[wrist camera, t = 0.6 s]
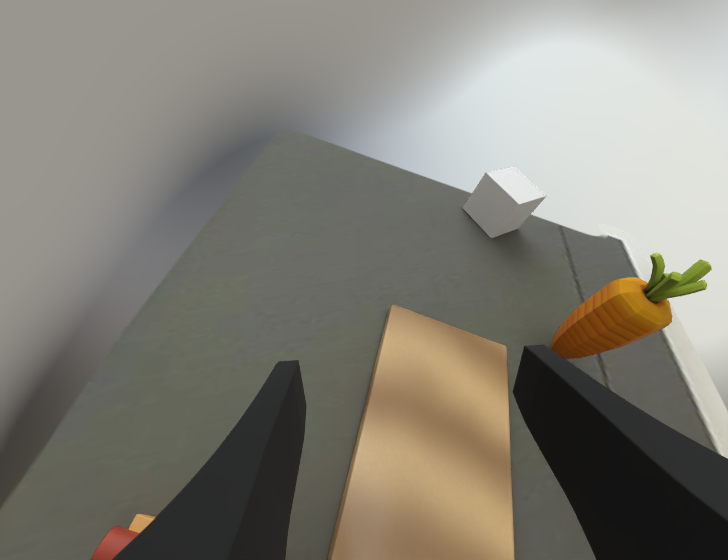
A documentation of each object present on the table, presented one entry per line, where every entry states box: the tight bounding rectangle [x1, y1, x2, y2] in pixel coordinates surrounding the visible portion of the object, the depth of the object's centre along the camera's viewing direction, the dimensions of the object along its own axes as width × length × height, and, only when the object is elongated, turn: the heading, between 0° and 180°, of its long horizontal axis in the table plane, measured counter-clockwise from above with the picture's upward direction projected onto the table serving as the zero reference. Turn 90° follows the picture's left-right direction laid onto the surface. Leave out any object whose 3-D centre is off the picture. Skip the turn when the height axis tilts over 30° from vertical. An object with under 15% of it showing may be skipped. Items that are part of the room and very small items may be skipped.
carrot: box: [550, 253, 711, 359], centre depth 29 cm, size 5×5×15 cm
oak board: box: [327, 304, 514, 560], centre depth 26 cm, size 20×12×1 cm, turn 166°
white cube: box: [463, 167, 546, 238], centre depth 44 cm, size 6×6×6 cm
